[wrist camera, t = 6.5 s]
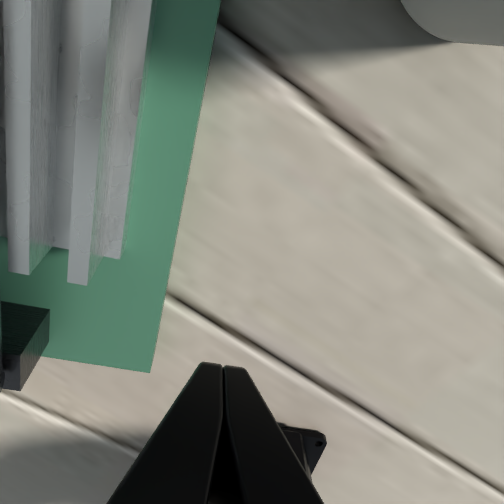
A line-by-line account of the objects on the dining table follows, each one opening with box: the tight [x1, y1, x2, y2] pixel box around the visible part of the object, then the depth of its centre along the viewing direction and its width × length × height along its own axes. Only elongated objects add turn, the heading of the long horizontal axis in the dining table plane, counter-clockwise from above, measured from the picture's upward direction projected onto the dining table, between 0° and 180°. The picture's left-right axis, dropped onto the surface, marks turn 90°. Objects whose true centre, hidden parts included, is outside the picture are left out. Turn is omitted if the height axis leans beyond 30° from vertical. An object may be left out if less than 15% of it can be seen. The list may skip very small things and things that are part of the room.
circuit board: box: [0, 0, 222, 373], centre depth 16 cm, size 24×14×1 cm, turn 166°
